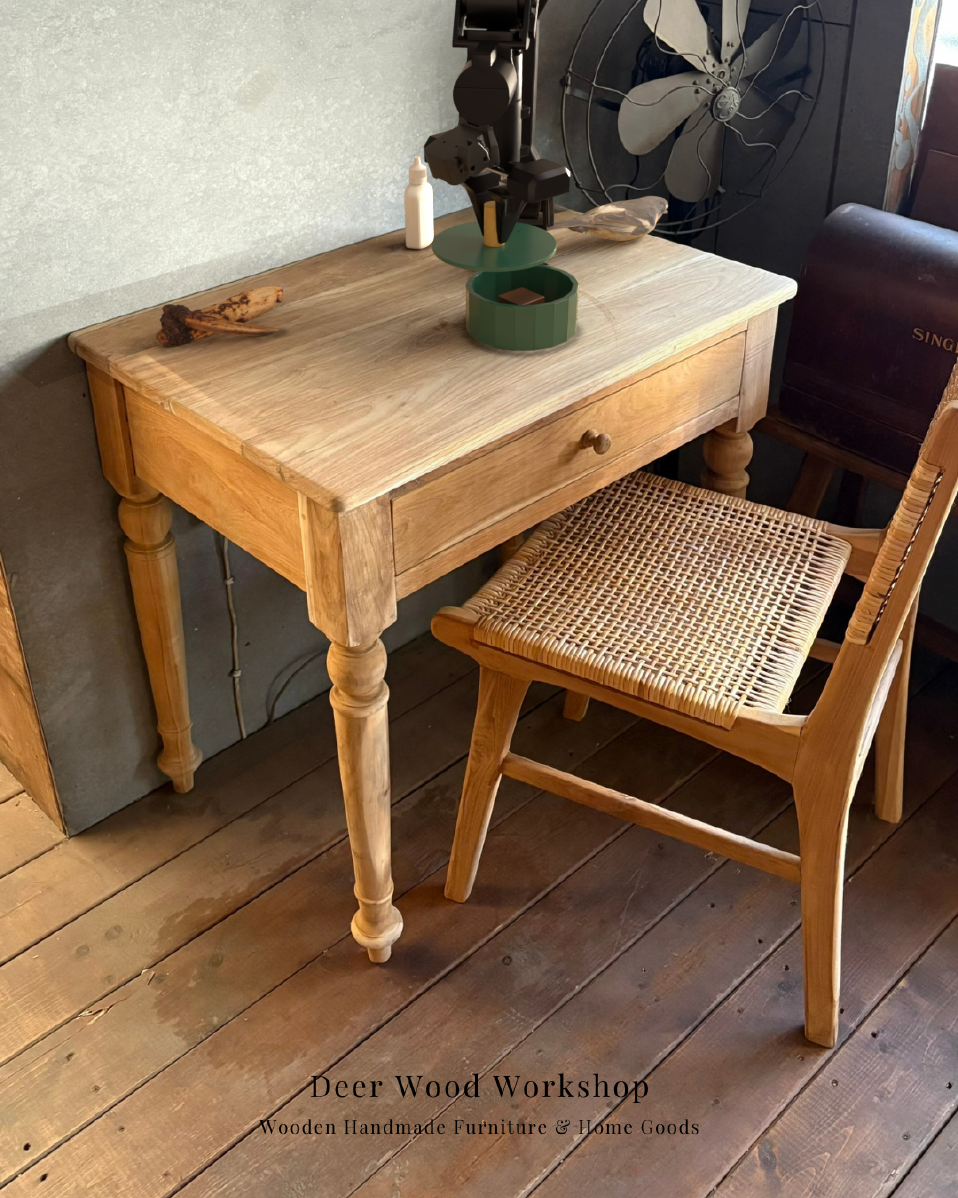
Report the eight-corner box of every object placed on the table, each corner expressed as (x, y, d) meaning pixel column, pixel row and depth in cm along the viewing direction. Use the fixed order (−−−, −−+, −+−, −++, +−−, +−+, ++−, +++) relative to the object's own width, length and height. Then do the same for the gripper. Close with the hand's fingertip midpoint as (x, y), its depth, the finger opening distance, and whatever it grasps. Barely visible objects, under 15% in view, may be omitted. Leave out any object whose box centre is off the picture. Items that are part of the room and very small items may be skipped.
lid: (407, 249, 139) (405, 202, 135) (500, 220, 146) (500, 174, 143) (487, 288, 130) (488, 238, 127) (582, 254, 137) (584, 206, 134)
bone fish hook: (190, 371, 139) (313, 322, 148) (184, 334, 136) (310, 287, 145) (147, 343, 144) (269, 298, 153) (140, 307, 141) (265, 263, 150)
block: (497, 326, 146) (497, 295, 144) (521, 317, 148) (522, 286, 146) (519, 336, 144) (520, 305, 141) (543, 327, 146) (544, 296, 143)
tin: (443, 328, 147) (442, 282, 143) (524, 299, 154) (525, 254, 150) (517, 365, 139) (518, 317, 135) (599, 332, 146) (602, 285, 142)
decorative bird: (684, 232, 173) (688, 197, 170) (553, 271, 161) (554, 234, 158) (654, 219, 177) (657, 185, 174) (523, 256, 165) (524, 221, 162)
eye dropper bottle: (444, 242, 170) (443, 156, 162) (414, 252, 167) (411, 165, 159) (425, 233, 172) (422, 148, 165) (394, 243, 169) (391, 157, 162)
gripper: (382, 92, 129) (389, 233, 139) (495, 132, 118) (494, 283, 127) (461, 74, 135) (463, 211, 144) (576, 111, 123) (570, 256, 133)
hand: (494, 239), depth 137 cm, fingers closed on lid, 2 cm apart
